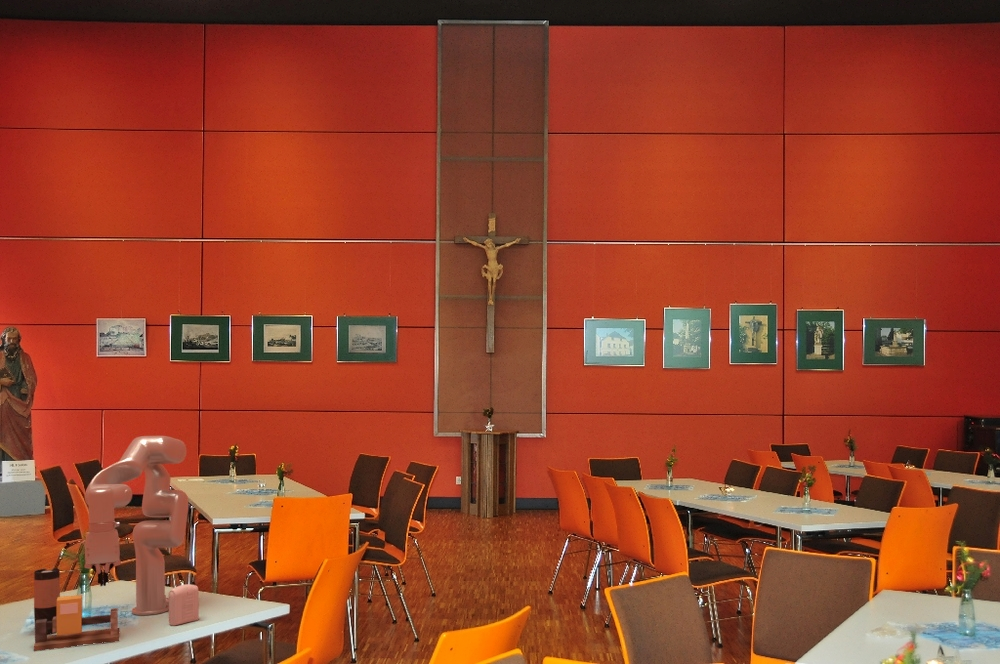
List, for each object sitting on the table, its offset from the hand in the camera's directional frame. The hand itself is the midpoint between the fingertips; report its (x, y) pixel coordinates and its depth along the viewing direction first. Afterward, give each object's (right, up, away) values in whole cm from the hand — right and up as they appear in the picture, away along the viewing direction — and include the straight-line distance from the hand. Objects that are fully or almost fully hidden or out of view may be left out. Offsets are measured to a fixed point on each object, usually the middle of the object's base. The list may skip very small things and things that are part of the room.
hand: (103, 585), depth 305 cm
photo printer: (+20, -17, +17) cm, 31 cm away
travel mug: (-22, -18, +8) cm, 29 cm away
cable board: (-6, -17, -4) cm, 18 cm away
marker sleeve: (-8, -13, -5) cm, 17 cm away
